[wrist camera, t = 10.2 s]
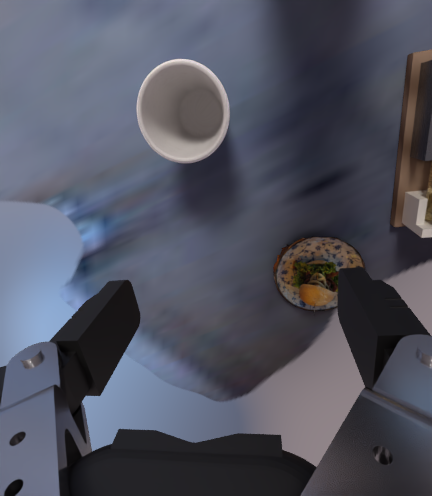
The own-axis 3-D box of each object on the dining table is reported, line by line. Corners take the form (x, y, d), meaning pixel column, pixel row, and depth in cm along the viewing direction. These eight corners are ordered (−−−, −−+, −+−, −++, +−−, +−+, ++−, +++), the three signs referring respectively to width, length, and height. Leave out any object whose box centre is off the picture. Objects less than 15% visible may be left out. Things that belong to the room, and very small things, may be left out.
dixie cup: (153, 115, 36) (117, 116, 27) (198, 55, 32) (175, 32, 23) (203, 165, 37) (186, 182, 28) (251, 112, 34) (249, 112, 25)
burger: (378, 273, 41) (402, 305, 34) (308, 318, 45) (317, 354, 38) (324, 212, 38) (338, 234, 31) (255, 266, 43) (255, 294, 36)
